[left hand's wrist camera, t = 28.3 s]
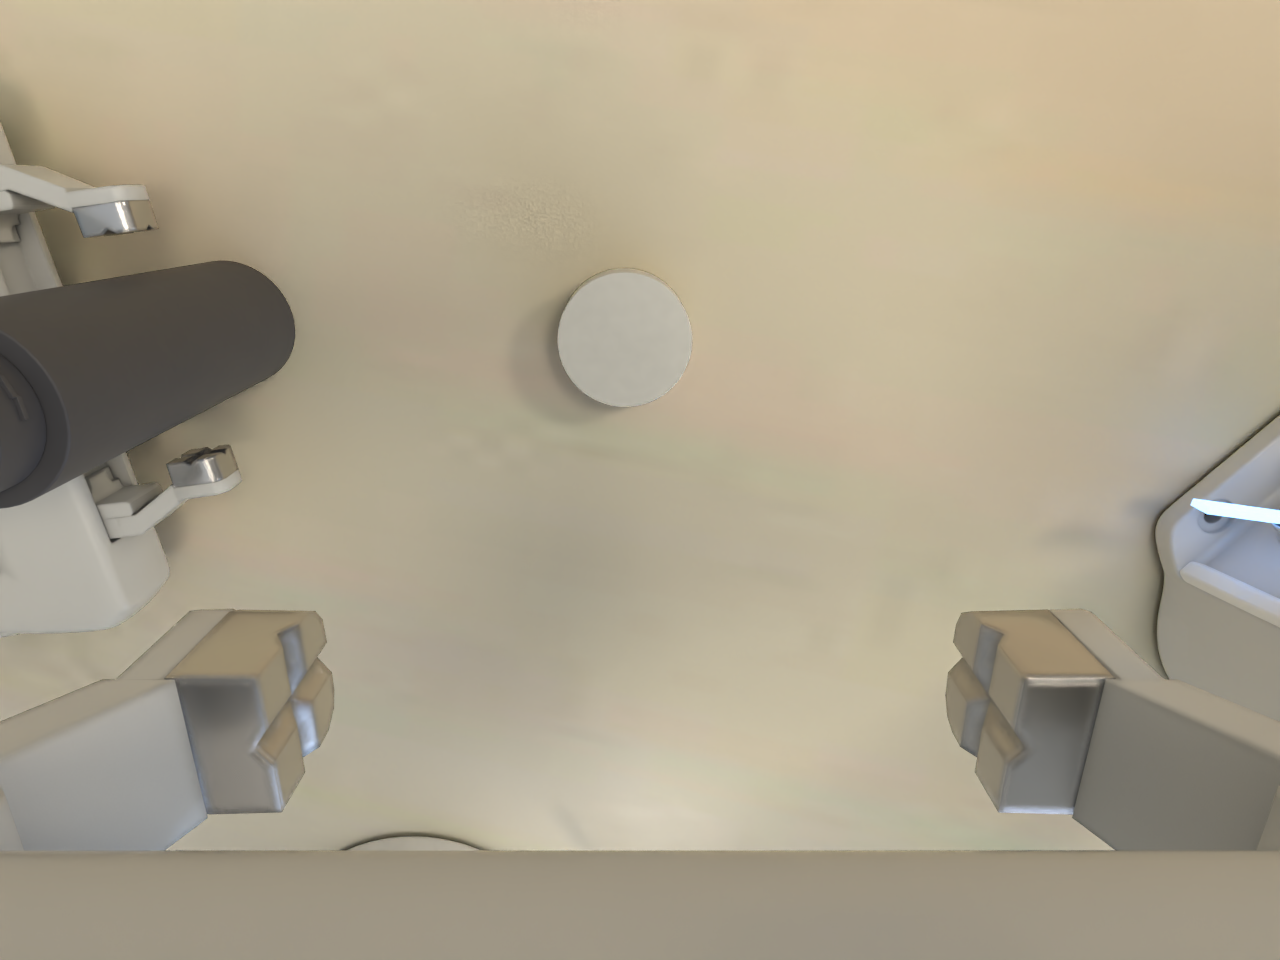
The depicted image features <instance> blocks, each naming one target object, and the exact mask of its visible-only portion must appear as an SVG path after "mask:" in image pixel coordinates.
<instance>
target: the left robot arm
mask: <svg viewBox="0 0 1280 960" xmlns="http://www.w3.org/2000/svg"><path fill="white" fill-rule="evenodd" d="M1205 513H1206V514H1208V515H1206V516H1204V514H1205ZM1155 538H1156V545H1157V550H1158V554H1159V558H1160V561H1161V565H1162V568H1163V571H1164V585H1163V592H1162V597H1161V602H1160V607H1159V612H1158V619H1157V643H1158V651H1159V655H1160V659H1161V662H1162V665H1163V668H1164V670H1165V672H1166V674H1167V676H1168V678H1169V679H1163V678H1162V677H1161V676H1160V675H1159V674H1158V673H1157V672H1156V671H1155V670H1154V669H1153V668H1151V667H1150V666H1149V665H1148V664H1147V663H1146V662H1145V661H1144V660H1143V659H1142V658H1141V657H1140V656H1139V655H1137V654H1136V653H1135V652H1134V651H1133V650H1132V649H1131V648H1130V647H1129V646H1128V645H1127V644H1126V643H1124V642H1123V641H1122V640H1121V639H1120V638H1119V637H1118V636H1117V635H1116V634H1115V633H1114V632H1113V631H1111V630H1110V629H1109V628H1108V627H1107V626H1106V625H1105V624H1104V623H1103V622H1102V621H1101V620H1100V619H1099V618H1097V617H1096V616H1095V615H1094V614H1093V613H1092V612H1090V611H1087V610H1084V609H1060V610H1012V611H971V612H964V613H961V615H960V617H959V619H958V622H957V624H956V628H955V634H954V639H953V643H954V644H955V646H956V647H957V649H958V651H959V652H960V654H961V655H962V657H963V658H962V659H961V660H960V661H959V662H958V663H957V664H956V665H955V666H954V667H953V668H952V669H951V670H950V671H949V672H948V678H947V687H946V695H945V696H946V706H947V716H948V720H949V723H950V726H951V729H952V732H953V734H954V736H955V738H956V740H957V742H958V743H959V745H960V747H962V748H963V749H965V750H966V751H968V752H969V753H971V754H973V755H974V756H976V757H977V762H976V768H975V773H976V775H977V777H978V778H979V780H980V782H981V783H982V785H983V787H984V789H985V790H986V792H987V794H988V795H989V797H990V799H991V801H992V802H993V804H994V806H995V807H996V809H997V811H998V812H1006V813H1042V814H1073V816H1072V818H1073V819H1075V820H1076V821H1077V822H1079V823H1080V824H1081V825H1083V826H1084V827H1085V828H1087V829H1088V830H1089V831H1091V832H1092V833H1093V834H1095V835H1096V836H1097V837H1099V838H1100V839H1101V840H1103V841H1104V842H1105V843H1107V844H1108V845H1109V846H1111V847H1112V848H1113V849H1115V850H1105V851H164V850H166V849H167V848H168V847H170V846H171V845H172V844H174V843H175V842H176V841H178V840H179V839H180V838H182V837H183V836H184V835H186V834H187V833H188V832H190V831H191V830H192V829H194V828H195V827H196V826H198V825H199V824H200V823H202V822H203V821H204V820H206V819H207V817H208V816H207V814H237V813H272V812H282V811H283V809H284V808H285V806H286V804H287V802H288V801H289V799H290V797H291V795H292V794H293V792H294V790H295V789H296V787H297V785H298V783H299V782H300V780H301V778H302V777H303V775H304V773H305V768H304V762H303V757H304V756H306V755H307V754H309V753H311V752H312V751H314V750H315V749H317V748H318V747H320V745H321V743H322V742H323V740H324V738H325V736H326V734H327V732H328V730H329V726H330V722H331V718H332V714H333V710H334V684H333V677H332V672H331V671H330V670H329V669H328V668H327V667H326V666H325V665H324V664H323V663H322V662H321V661H320V660H319V659H318V658H317V657H318V655H319V654H320V652H321V651H322V649H323V647H324V646H325V644H326V643H327V640H326V635H325V630H324V625H323V620H322V618H321V617H320V616H319V615H318V614H317V613H316V611H285V610H235V609H207V610H194V611H189V612H188V613H187V614H186V615H185V616H184V617H183V618H182V619H181V620H180V621H178V622H177V623H176V624H175V625H174V626H173V627H172V628H171V629H170V630H169V631H168V632H167V633H165V634H164V635H163V636H162V637H161V638H160V639H159V640H158V641H157V642H156V643H155V644H154V645H152V646H151V647H150V648H149V649H148V650H147V651H146V652H145V653H144V654H143V655H142V656H141V657H139V658H138V659H137V660H136V661H135V662H134V663H133V664H132V665H131V666H130V667H129V668H128V669H126V670H125V671H124V672H123V673H122V674H121V675H120V676H119V677H118V678H117V679H105V680H100V681H98V682H95V683H93V684H90V685H88V686H85V687H83V688H81V689H78V690H76V691H73V692H71V693H68V694H66V695H64V696H61V697H59V698H56V699H54V700H52V701H49V702H47V703H44V704H42V705H39V706H37V707H35V708H32V709H30V710H27V711H25V712H22V713H20V714H18V715H15V716H13V717H10V718H8V719H5V720H3V721H1V722H0V960H1280V415H1279V416H1278V417H1276V418H1275V419H1274V420H1273V421H1272V422H1270V423H1269V424H1268V425H1267V426H1266V427H1264V428H1263V429H1262V430H1261V431H1260V432H1258V433H1257V434H1256V435H1255V436H1254V437H1252V438H1251V439H1250V440H1249V441H1248V442H1246V443H1245V444H1244V445H1243V446H1242V447H1240V448H1239V449H1238V450H1237V451H1236V452H1234V453H1233V454H1232V455H1231V456H1230V457H1228V458H1227V459H1226V460H1225V461H1224V462H1222V463H1221V464H1220V465H1219V466H1218V467H1216V468H1215V469H1214V470H1213V471H1212V472H1210V473H1209V474H1208V475H1207V476H1206V477H1204V478H1203V479H1202V480H1201V481H1200V482H1198V483H1197V484H1196V485H1195V486H1194V487H1192V488H1191V489H1190V490H1189V491H1188V492H1186V493H1185V494H1184V495H1183V496H1182V497H1180V498H1179V499H1178V500H1177V501H1176V502H1174V503H1173V504H1172V505H1171V506H1170V507H1169V508H1167V509H1166V510H1165V511H1164V512H1163V514H1162V515H1161V516H1160V518H1159V520H1158V522H1157V525H1156V530H1155Z"/></svg>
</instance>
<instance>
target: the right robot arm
mask: <svg viewBox="0 0 1280 960" xmlns="http://www.w3.org/2000/svg"><path fill="white" fill-rule="evenodd" d="M55 207H58V208H61V209H64V210H66V211H69V212H72V213H74V214H75V217H76V219H77V222H78V224H79V227H80V230H81V232H82V235H83V237H84V238H88V237H100V236H113V235H121V234H128V233H134V232H140V231H149V230H155V229H159V228H158V225H157V221H156V218H155V215H154V212H153V208H152V205H151V202H150V200H149V196H148V193H147V190H146V187H145V185H115V186H104V187H98V188H96V187H94V186H91V185H89V184H86V183H84V182H81V181H79V180H76V179H74V178H71V177H69V176H66V175H64V174H61V173H59V172H57V171H54V170H52V169H49V168H47V167H44V166H32V165H17V164H16V162H15V159H14V156H13V154H12V151H11V149H10V146H9V143H8V141H7V138H6V135H5V133H4V130H3V127H2V125H1V122H0V296H6V295H12V294H19V293H25V292H31V291H37V290H43V289H49V288H55V287H61V286H63V285H62V283H61V280H60V278H59V275H58V272H57V270H56V267H55V264H54V262H53V259H52V256H51V254H50V251H49V249H48V246H47V243H46V241H45V238H44V235H43V233H42V230H41V228H40V225H39V222H38V220H37V217H36V214H35V211H41V210H47V209H53V208H55ZM166 465H167V468H168V471H169V474H170V478H171V481H172V485H171V486H169V487H168V488H167V489H166V490H165V491H164V492H163V491H162V488H161V485H160V484H158V483H157V482H155V483H148V484H140V485H138V483H137V480H136V477H135V475H134V472H133V469H132V467H131V464H130V462H129V459H128V456H127V454H126V452H124V453H122V454H120V455H119V456H117V457H115V458H113V459H111V460H109V461H107V462H105V463H103V464H101V465H99V466H97V467H95V468H94V469H92V470H90V471H88V472H86V473H84V474H82V475H80V476H78V477H76V478H74V479H72V480H70V481H69V482H67V483H65V484H63V485H61V486H59V487H57V488H55V489H53V490H51V491H49V492H47V493H45V494H44V495H42V496H40V497H38V498H36V499H34V500H32V501H29V502H27V503H24V504H22V505H18V506H14V507H10V508H1V509H0V638H1V637H9V636H13V635H18V634H52V633H76V632H90V631H99V630H106V629H110V628H113V627H116V626H118V625H120V624H121V623H123V622H125V621H126V620H128V619H129V618H131V617H132V616H133V615H135V614H136V613H137V612H138V611H140V610H141V609H142V608H143V607H144V606H145V605H146V604H147V603H149V602H150V600H151V599H152V598H153V597H154V596H155V595H156V594H157V592H158V591H159V590H160V589H161V587H162V586H163V585H164V583H165V582H166V581H167V579H168V578H169V575H170V568H169V564H168V561H167V559H166V556H165V554H164V551H163V548H162V546H161V543H160V540H159V538H158V535H157V533H156V530H155V527H154V526H155V525H156V524H158V523H159V522H161V521H162V520H163V519H165V518H166V517H168V516H169V515H170V514H172V513H173V512H174V511H175V510H177V509H178V508H179V507H180V506H181V505H182V504H184V503H185V502H186V501H187V500H188V499H193V498H200V497H207V496H214V495H219V494H222V493H225V492H227V491H229V490H231V489H232V488H234V487H235V486H236V485H238V484H239V483H240V482H241V481H242V478H241V475H240V472H239V469H238V466H237V463H236V460H235V457H234V454H233V451H232V448H231V446H230V445H219V446H217V447H215V448H214V449H210V448H208V447H205V448H198V449H191V450H189V451H187V452H186V453H184V454H182V456H181V458H175V459H174V460H172V461H170V462H169V463H167V464H166ZM346 851H481V850H479V849H477V848H474V847H471V846H468V845H465V844H462V843H459V842H454V841H450V840H445V839H440V838H432V837H420V836H406V837H392V838H385V839H380V840H375V841H371V842H367V843H364V844H361V845H358V846H355V847H353V848H350V849H348V850H346Z"/></svg>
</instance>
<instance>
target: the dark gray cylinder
mask: <svg viewBox="0 0 1280 960" xmlns="http://www.w3.org/2000/svg"><path fill="white" fill-rule="evenodd" d="M294 339H295V327H294V320H293V316H292V312H291V310H290V307H289V305H288V303H287V301H286V299H285V297H284V296H283V294H282V293H281V292H280V290H279V289H278V288H277V287H276V286H275V284H274V283H272V282H271V281H270V280H269V279H268V278H267V277H266V276H264V275H263V274H261V273H260V272H258V271H257V270H255V269H253V268H251V267H248V266H246V265H243V264H240V263H237V262H231V261H213V262H207V263H201V264H194V265H188V266H182V267H176V268H170V269H164V270H158V271H152V272H146V273H140V274H134V275H128V276H122V277H116V278H110V279H103V280H97V281H91V282H85V283H79V284H73V285H67V286H61V287H55V288H49V289H43V290H37V291H31V292H25V293H19V294H12V295H6V296H0V509H1V508H10V507H14V506H18V505H22V504H24V503H27V502H29V501H32V500H34V499H36V498H38V497H40V496H42V495H44V494H45V493H47V492H49V491H51V490H53V489H55V488H57V487H59V486H61V485H63V484H65V483H67V482H69V481H70V480H72V479H74V478H76V477H78V476H80V475H82V474H84V473H86V472H88V471H90V470H92V469H94V468H95V467H97V466H99V465H101V464H103V463H105V462H107V461H109V460H111V459H113V458H115V457H117V456H119V455H120V454H122V453H124V452H126V451H128V450H130V449H132V448H134V447H136V446H138V445H140V444H142V443H144V442H145V441H147V440H149V439H151V438H153V437H155V436H157V435H159V434H161V433H163V432H165V431H167V430H169V429H171V428H172V427H174V426H176V425H178V424H180V423H182V422H184V421H186V420H188V419H190V418H192V417H194V416H196V415H197V414H199V413H201V412H203V411H205V410H207V409H209V408H211V407H213V406H215V405H217V404H219V403H221V402H222V401H224V400H226V399H228V398H230V397H232V396H234V395H236V394H238V393H240V392H242V391H244V390H246V389H247V388H249V387H251V386H253V385H255V384H257V383H259V382H261V381H263V380H265V379H267V378H268V377H270V376H272V375H274V374H275V373H276V372H277V371H279V370H280V369H281V368H282V366H283V365H284V364H285V363H286V361H287V360H288V358H289V356H290V354H291V352H292V348H293V345H294Z"/></svg>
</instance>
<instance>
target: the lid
mask: <svg viewBox="0 0 1280 960" xmlns="http://www.w3.org/2000/svg"><path fill="white" fill-rule="evenodd" d="M557 344H558V352H559V357H560V360H561V363H562V366H563V368H564V370H565V372H566V374H567V375H568V377H569V378H570V380H571V381H572V382H573V383H574V384H575V386H576V387H577V388H578V389H580V390H581V391H582V392H583V393H584V394H586V395H587V396H589V397H590V398H592V399H594V400H596V401H598V402H601V403H603V404H606V405H611V406H616V407H634V406H640V405H643V404H647V403H650V402H652V401H654V400H656V399H658V398H660V397H661V396H663V395H664V394H666V393H667V392H668V391H669V390H670V389H671V388H672V387H673V386H674V385H675V384H676V383H677V382H678V381H679V379H680V378H681V376H682V375H683V373H684V371H685V369H686V367H687V365H688V362H689V359H690V355H691V350H692V330H691V324H690V321H689V317H688V315H687V313H686V310H685V308H684V306H683V304H682V303H681V301H680V299H679V298H678V296H677V295H676V293H675V292H674V291H673V290H672V289H671V288H670V287H669V286H668V285H667V284H666V283H665V282H664V281H662V280H661V279H659V278H658V277H656V276H654V275H652V274H650V273H648V272H645V271H642V270H638V269H631V268H617V269H611V270H607V271H604V272H601V273H599V274H597V275H595V276H593V277H591V278H590V279H588V280H587V281H585V282H584V283H583V284H582V285H581V286H579V288H578V289H577V290H576V291H575V292H574V293H573V295H572V296H571V298H570V299H569V301H568V303H567V305H566V307H565V309H564V311H563V313H562V316H561V319H560V322H559V327H558V335H557Z"/></svg>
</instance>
